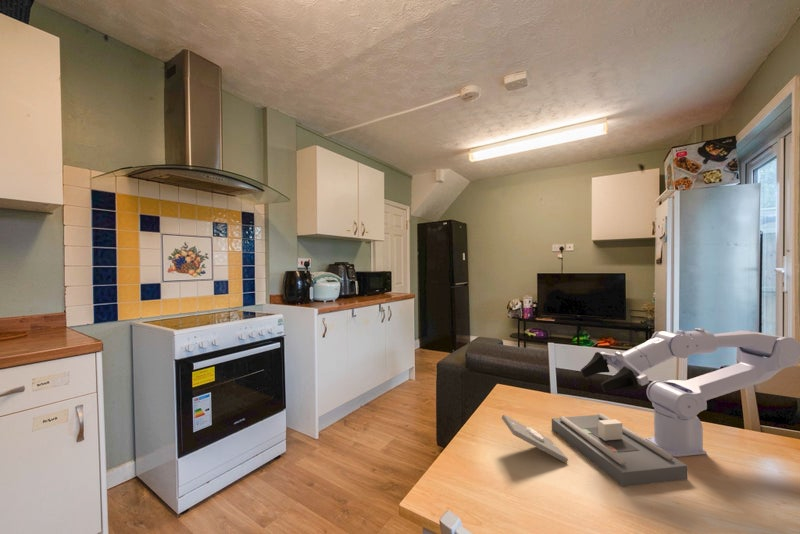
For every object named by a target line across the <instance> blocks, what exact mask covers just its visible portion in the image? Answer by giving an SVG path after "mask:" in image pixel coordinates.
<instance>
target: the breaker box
mask: <svg viewBox="0 0 800 534" xmlns="http://www.w3.org/2000/svg"><path fill="white" fill-rule="evenodd" d="M564 417H565V418H566V419H568V420H569V421H571V422H572V423H573V424H575V425H576V426H578V427H579V428H581V429H582V430H583V431H585V432H586V433H588V434H589V435H590V436H592V437H593V438H595V439H596V440H597V441H599V442H600V443H602V444H603V445H604V446H606V447H607V448H609V449H610V450H611V451H613V452H614V453H616V454H617V455H619V456H620V457H621V458H623V459H624V460H625V461H626V464H625V465H624V466H622V465H620V464H619V463H617V462H616V461H615V460H613V459H612V458H611V457H609V456H608V455H607V454H605V453H604V452H603V451H601V450H600V449H599V448H597V447H596V446H594V445H593V444H592V443H590V442H589V441H588V440H586V439H585V438H584V437H582V436H581V435H580V434H578V433H577V432H576V431H574V430H573V429H572V428H570V427H569V426H567V425H566V424H565V423H563V422H562V421H561V420H560V417H553V418H551V430H553V431H554V433H557V434H558V435H559V436H560V437H561V438H562V439H563V440H565V441H566V442H567V443H569V445H571V447H573V448H575V449H576V450H577V451H578V452H580V453H581V454H582V455H583V456H585V458H587V459H588V460H589V461H591V462H592V463H593V464H594V465H596V467H597V468H599V469H600V470H601V471H602V472H604V473H605V474H606V475H608V476H609V477H610V478H611V479H613V480H614V481H615V483H617V484H618V485H620V487H622V488H624V487H631V486H632V487H633V486H641V485H650V484H658V483H659V484H660V483H667V482H676V481H677V482H678V481H683V480H684V481H685V480H688V478H689V476H688V465H687V464H685V463H684V462H682V461H681V460H678V459H677V457H674V456H673V459H672V460H671V461H669V460H667V459H666V458H664V457H662V456H661V455H659V454H658V453H656V452H654V451H653V450H651V449H649V448H648V447H646V446H644V445H643V444H641V443H640V442H638V441H636V440H635V439H633V438H631V437H630V436H628V435H627V434H625V433H623V432H622V439H616V440H603V439H602V438H600V437H599V436H598V421H599V420H602V419H600V418H599V417H598V414H592V415H590V414H589V415H581V416H580V415H578V416H577V415H576V416H567V417H566V416H564Z"/></svg>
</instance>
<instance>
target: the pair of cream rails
mask: <svg viewBox="0 0 800 534" xmlns="http://www.w3.org/2000/svg"><path fill="white" fill-rule="evenodd" d="M597 415H598V417H599V418H600V419H602V420H612V418H611V417H608V416H606V415H605V414H604V413H601V412H599V413H597ZM565 417H566V416H563V415H561V416H560V417H559V418H560V420H561V421H562V422H563V423H565V424H566V425H567V426H569V427H570V428H572V429H573V430H574V431H576V432H577V433H578V434H580V435H581V436H582V437H584V438H585V439H586V440H588V441H589V442H590V443H592V444H593V445H594V446H596V447H597V448H599V449H600V450H601V451H603V452H604V453H605V454H607V455H608V456H609V457H611V458H612V459H613V460H615V461H616V462H617V463H619V464H620V465H622V466H624V465H625V464H626V461H625V460H624V459H623V458H621V457H620V456H619V455H617V454H616V453H614V452H613V451H611V450H610V449H609V448H607V447H606V446H604V445H603V444H602V443H600V442H599V441H597V440H596V439H595V438H593V437H592V436H590V435H589V434H588V433H586V432H585V431H583V430H582V429H581V428H579V427H578V426H576V425H575V424H573V423H572V422H571V421H569V420H568V419H566V418H565ZM622 432H623V433H625V434H627V435H628V436H630V437H631V438H633V439H635V440H636V441H638V442H640V443H641V444H643V445H644V446H646V447H648V448H649V449H651V450H653V451H654V452H656V453H658V454H659V455H661V456H662V457H664V458H666V459H667V460H669V461H671V460H672V459H673V457H674V456H672V455H671V454H669V453H668V452H666V451H664V450H663V449H661V448H659V447H658V446H656V445H654V444H652V443H651V442H649V441H647V440H646V439H645V438H644V437H643V436H640V435H639V434H637V433H635V432H634V431H632V430H630V429H629V428H627V427H626V426H623V425H622Z"/></svg>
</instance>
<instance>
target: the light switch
mask: <svg viewBox="0 0 800 534" xmlns="http://www.w3.org/2000/svg"><path fill="white" fill-rule="evenodd" d="M501 420H502V421H503V422H504V423H505V425H506V427H507V428H508V429H509V431H510V432H511V433H512V434H513V436H515V437H517V438H518V439H520V440H522V441H525V442H526V443H527V444H530V445H532V446H533V447H535V448H537V449H539V450H540V451H542V452H545V453H546V454H548V455H551V456H552V457H554V458H556V459H558V460H559V461H561V462H563V463H564V464H567V462H568V461H569V459H568V457H566V455H565V454H564V453H563V452H562V450H561V449H560V448H559V447H558V446H557V445H556V444H555V442H554V441H552V440H551V438H548V437H546V436H544V434H541V433H540V432H538V431H536V430H535V429H533V428H532V427H529V426H526V425H524V424H522V423H520V422H519V421H517V420H515V419H513V418H511V417H509V416H508V415H506V414H502V416H501Z"/></svg>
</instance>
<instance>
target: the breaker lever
mask: <svg viewBox="0 0 800 534" xmlns="http://www.w3.org/2000/svg"><path fill="white" fill-rule="evenodd" d="M611 419H612V418H611ZM622 426H623V422H622V421H620V420H617V419H615V418H614V419H612V420H599V421H598V436H599V437H600V438H602V439H603V440H616V439H622Z"/></svg>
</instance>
